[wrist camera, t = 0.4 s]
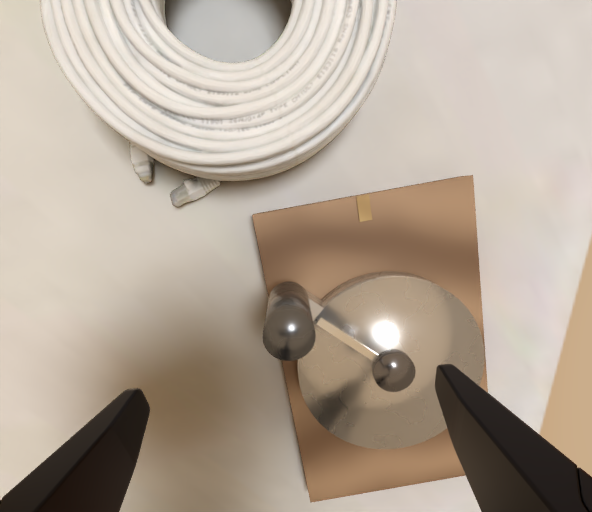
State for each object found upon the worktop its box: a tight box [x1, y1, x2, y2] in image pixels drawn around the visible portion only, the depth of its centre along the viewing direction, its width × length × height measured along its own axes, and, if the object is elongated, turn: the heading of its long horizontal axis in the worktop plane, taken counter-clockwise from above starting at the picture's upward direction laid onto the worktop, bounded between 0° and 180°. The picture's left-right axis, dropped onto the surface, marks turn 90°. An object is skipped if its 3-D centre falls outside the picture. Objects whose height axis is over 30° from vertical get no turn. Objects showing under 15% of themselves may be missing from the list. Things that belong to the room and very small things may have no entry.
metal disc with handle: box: [263, 271, 485, 449], centre depth 19 cm, size 15×12×6 cm
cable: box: [40, 0, 397, 207], centre depth 17 cm, size 18×18×6 cm
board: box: [252, 175, 488, 502], centre depth 23 cm, size 22×14×2 cm, turn 10°
